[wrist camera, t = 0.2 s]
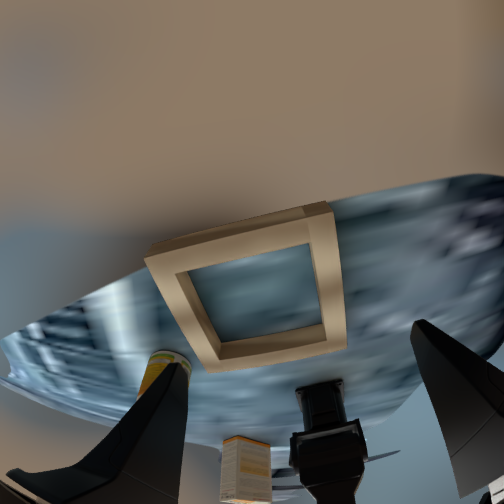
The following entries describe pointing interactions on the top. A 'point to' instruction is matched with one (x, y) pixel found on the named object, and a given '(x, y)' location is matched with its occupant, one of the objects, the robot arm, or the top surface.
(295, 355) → the tan square frame
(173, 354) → the supplement bottle
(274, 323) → the top surface
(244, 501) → the supplement box
